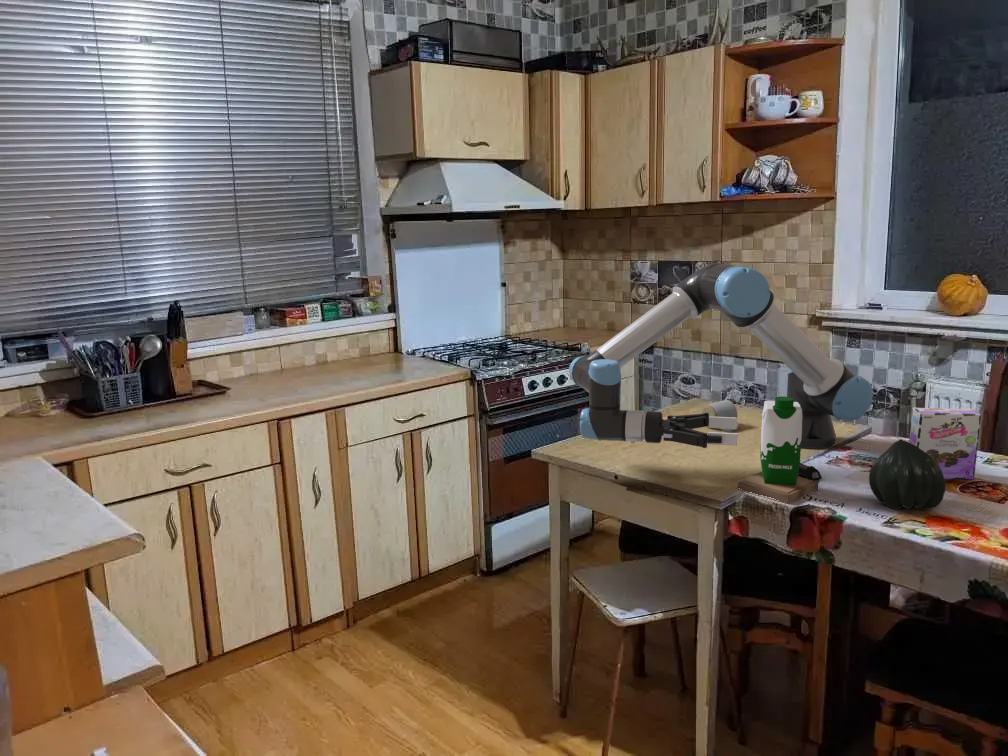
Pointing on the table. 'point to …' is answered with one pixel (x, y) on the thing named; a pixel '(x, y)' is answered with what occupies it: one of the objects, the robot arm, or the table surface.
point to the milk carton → (781, 441)
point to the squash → (907, 478)
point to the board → (778, 488)
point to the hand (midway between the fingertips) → (737, 431)
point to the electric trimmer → (809, 472)
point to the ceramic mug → (722, 411)
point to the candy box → (948, 438)
